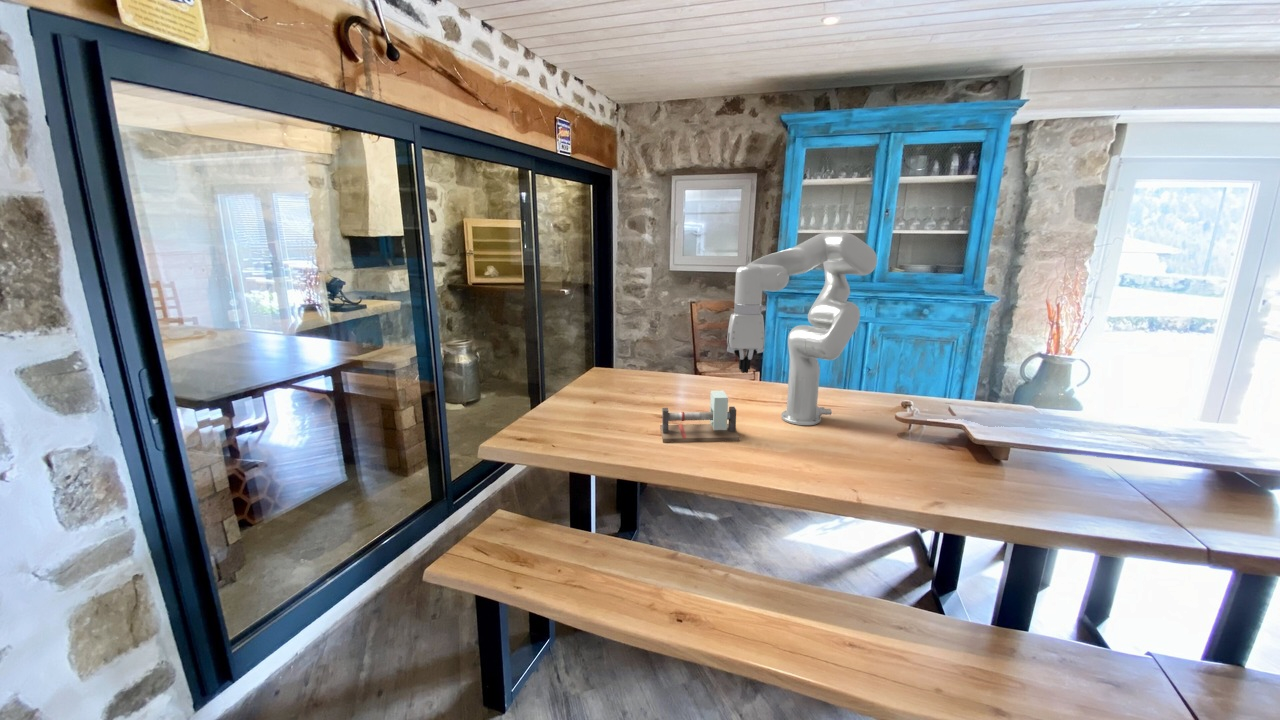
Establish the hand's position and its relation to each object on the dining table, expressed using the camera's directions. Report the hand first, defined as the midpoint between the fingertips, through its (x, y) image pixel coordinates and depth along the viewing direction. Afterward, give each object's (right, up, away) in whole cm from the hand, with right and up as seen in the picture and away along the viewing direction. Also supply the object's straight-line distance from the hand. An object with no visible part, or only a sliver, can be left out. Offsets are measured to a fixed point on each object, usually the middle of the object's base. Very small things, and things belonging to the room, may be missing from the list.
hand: (744, 371), depth 147 cm
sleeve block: (-7, -17, +7) cm, 19 cm away
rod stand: (-13, -20, +7) cm, 24 cm away
